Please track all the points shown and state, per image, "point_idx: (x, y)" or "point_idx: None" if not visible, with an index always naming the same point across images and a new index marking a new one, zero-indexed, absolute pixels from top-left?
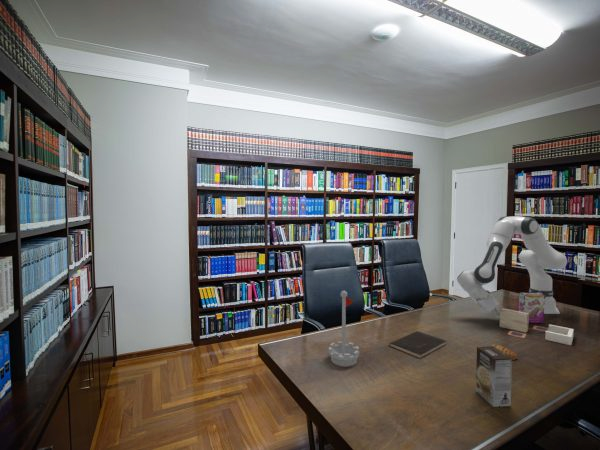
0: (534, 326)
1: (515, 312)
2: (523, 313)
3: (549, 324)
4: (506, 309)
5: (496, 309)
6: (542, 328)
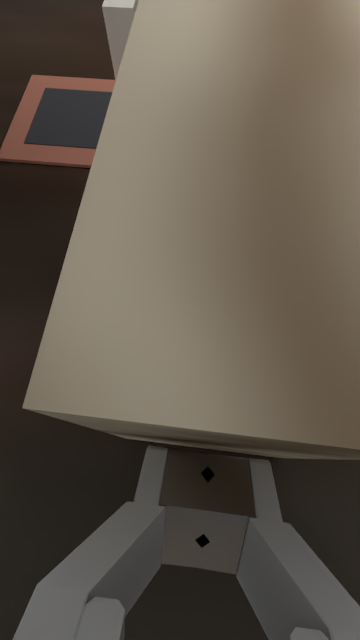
0: (36, 158)
1: (287, 99)
2: (246, 3)
3: (110, 4)
4: (119, 282)
5: (90, 621)
6: (66, 113)
